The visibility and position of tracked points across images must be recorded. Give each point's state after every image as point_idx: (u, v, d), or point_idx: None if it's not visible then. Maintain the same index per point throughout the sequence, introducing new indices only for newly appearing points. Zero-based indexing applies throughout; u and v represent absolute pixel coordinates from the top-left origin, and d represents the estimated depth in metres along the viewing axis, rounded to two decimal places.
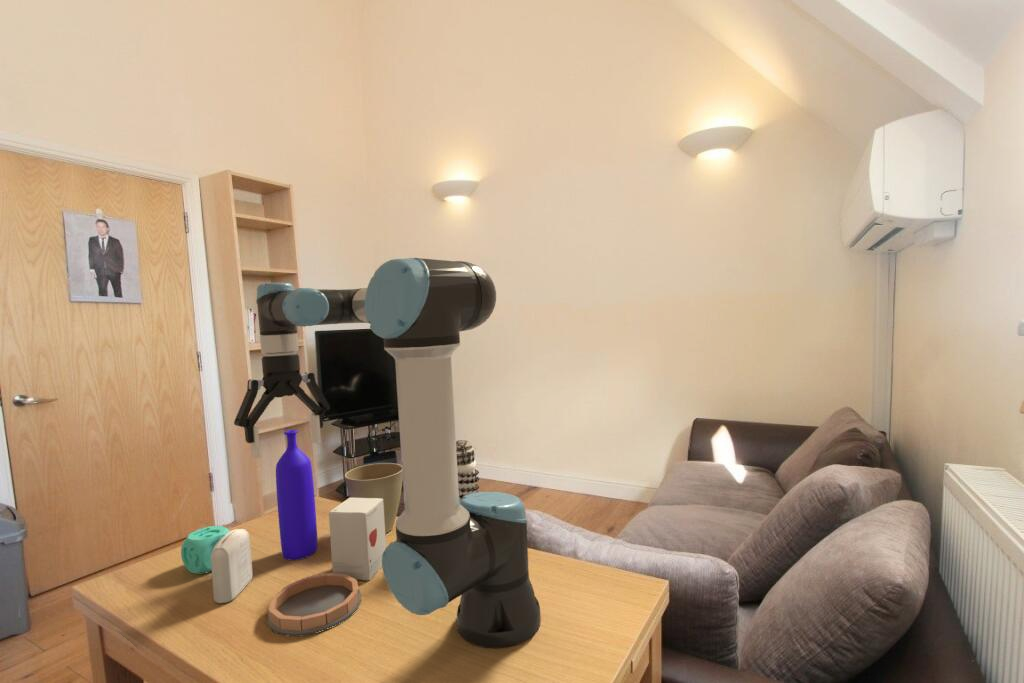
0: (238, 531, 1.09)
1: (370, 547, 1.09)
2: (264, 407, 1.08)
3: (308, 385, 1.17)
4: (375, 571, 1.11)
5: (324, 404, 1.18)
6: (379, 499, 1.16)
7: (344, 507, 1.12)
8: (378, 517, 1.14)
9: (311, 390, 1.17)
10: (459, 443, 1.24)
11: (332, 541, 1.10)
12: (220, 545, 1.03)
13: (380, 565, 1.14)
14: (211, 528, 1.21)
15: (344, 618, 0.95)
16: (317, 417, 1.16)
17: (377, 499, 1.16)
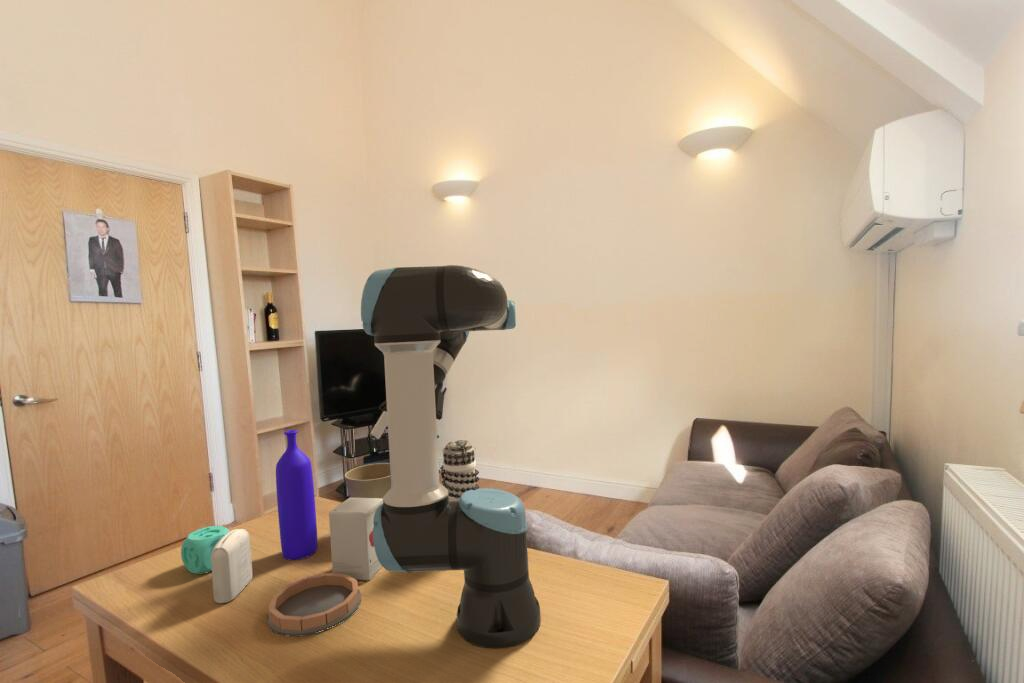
0: (238, 531, 1.09)
1: (370, 547, 1.09)
2: None
3: None
4: (375, 571, 1.11)
5: None
6: (379, 499, 1.16)
7: (344, 507, 1.12)
8: None
9: None
10: (459, 443, 1.24)
11: (332, 541, 1.10)
12: (220, 545, 1.03)
13: (380, 565, 1.14)
14: (211, 528, 1.21)
15: (344, 618, 0.95)
16: None
17: (377, 499, 1.16)
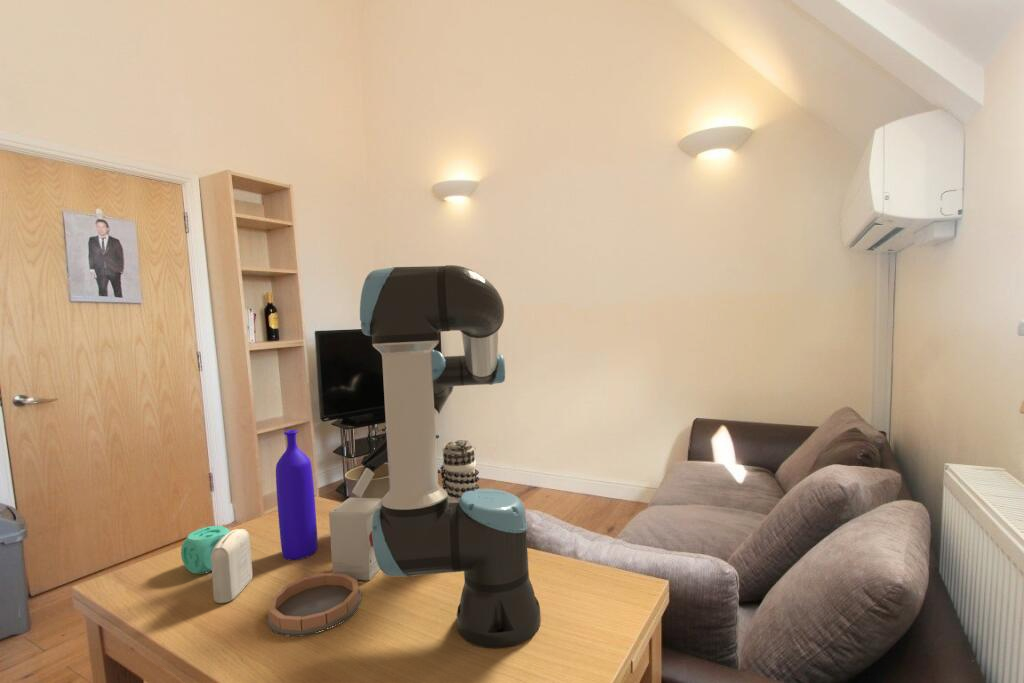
0: (238, 531, 1.09)
1: (370, 547, 1.09)
2: (380, 455, 1.26)
3: None
4: (375, 571, 1.11)
5: None
6: (379, 499, 1.16)
7: (344, 507, 1.12)
8: None
9: None
10: (459, 443, 1.24)
11: (332, 541, 1.10)
12: (220, 545, 1.03)
13: None
14: (211, 528, 1.21)
15: (344, 618, 0.95)
16: None
17: (377, 499, 1.16)
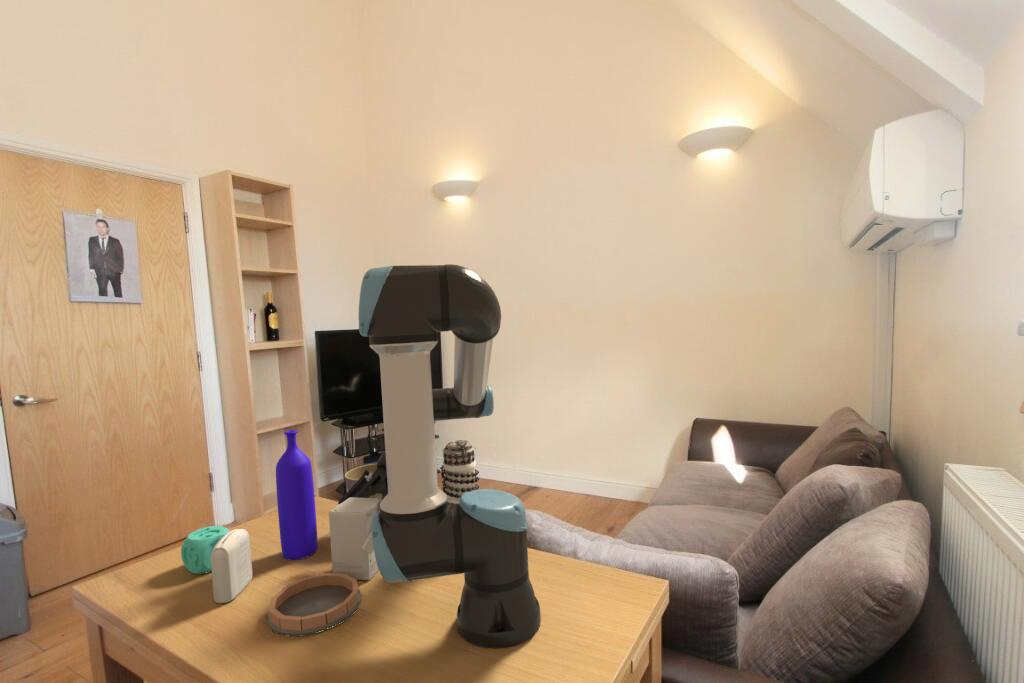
0: (238, 531, 1.09)
1: None
2: (358, 494, 1.19)
3: None
4: (375, 571, 1.11)
5: None
6: (379, 499, 1.16)
7: (344, 507, 1.12)
8: None
9: None
10: (459, 443, 1.24)
11: (332, 541, 1.10)
12: (220, 545, 1.03)
13: None
14: (211, 528, 1.21)
15: (344, 618, 0.95)
16: None
17: (377, 499, 1.16)
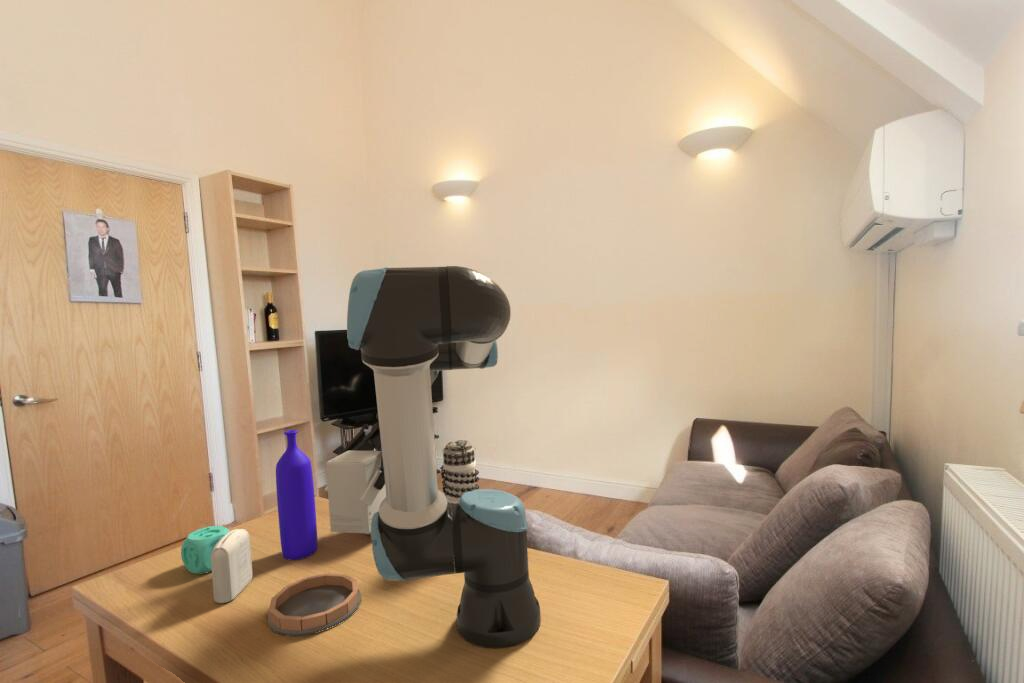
0: (238, 531, 1.09)
1: None
2: (357, 447, 1.13)
3: None
4: None
5: None
6: (379, 451, 1.11)
7: (342, 458, 1.06)
8: (378, 469, 1.08)
9: None
10: (459, 443, 1.24)
11: (330, 493, 1.05)
12: (220, 545, 1.03)
13: None
14: (211, 528, 1.21)
15: (344, 618, 0.95)
16: (376, 472, 1.05)
17: (377, 451, 1.10)
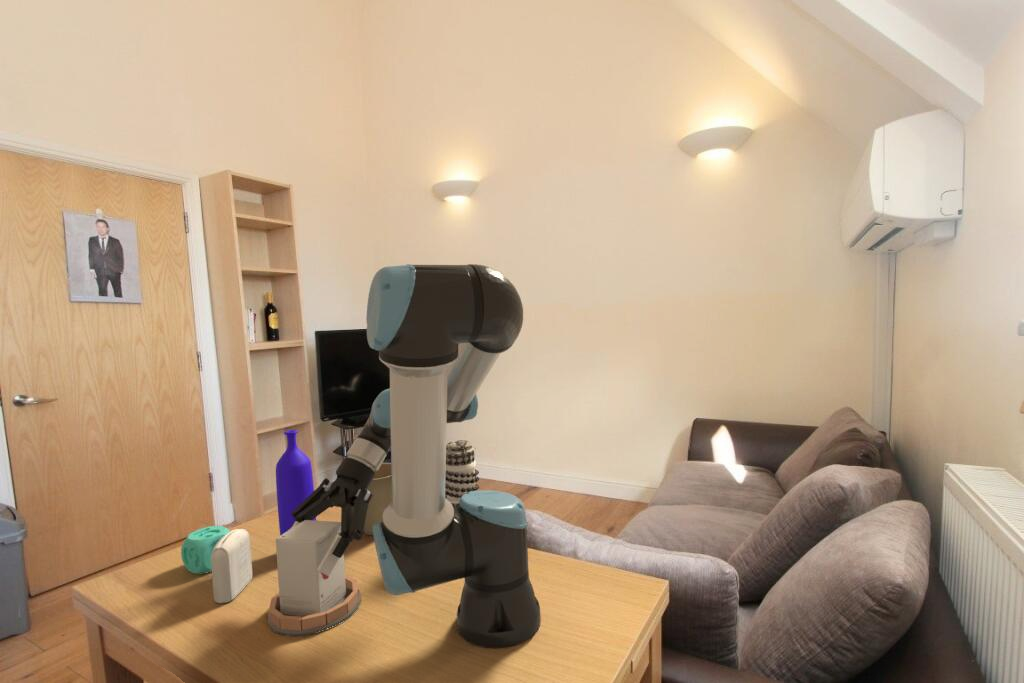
0: (238, 531, 1.09)
1: (321, 580, 0.95)
2: (314, 505, 1.05)
3: None
4: (329, 607, 0.97)
5: (351, 527, 0.96)
6: (337, 523, 1.01)
7: (294, 533, 0.97)
8: None
9: None
10: (459, 443, 1.24)
11: (279, 572, 0.96)
12: (220, 545, 1.03)
13: (336, 599, 0.99)
14: (211, 528, 1.21)
15: (344, 618, 0.95)
16: (336, 538, 0.95)
17: (334, 523, 1.01)
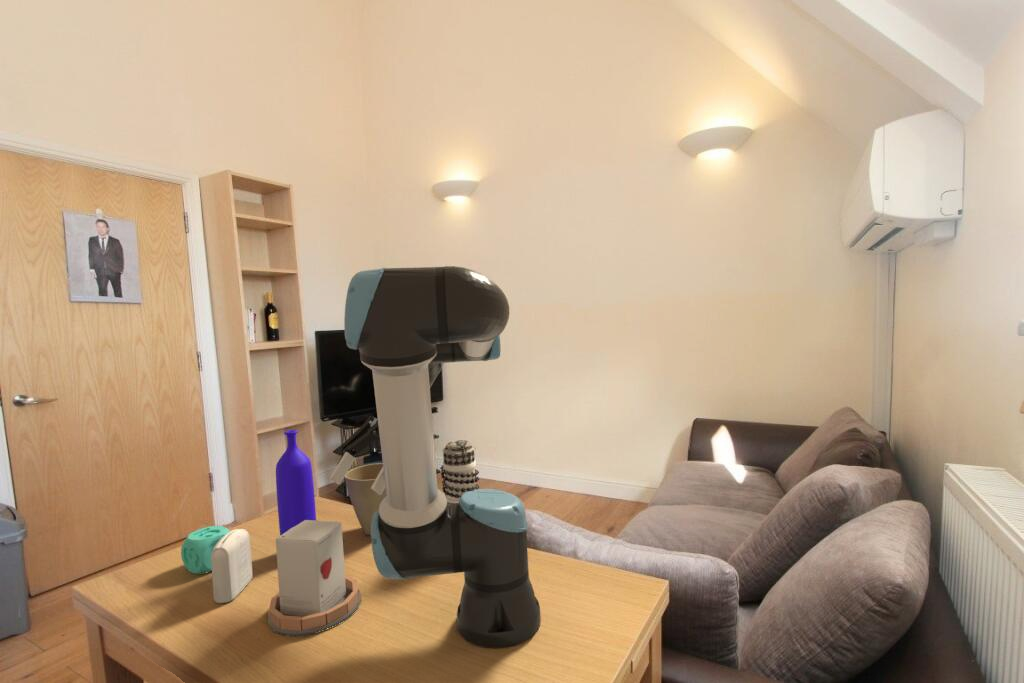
0: (238, 531, 1.09)
1: (321, 580, 0.95)
2: (362, 438, 1.14)
3: None
4: (329, 607, 0.97)
5: None
6: (337, 523, 1.01)
7: (294, 533, 0.97)
8: (334, 544, 0.99)
9: None
10: (459, 443, 1.24)
11: (279, 572, 0.96)
12: (220, 545, 1.03)
13: (336, 599, 0.99)
14: (211, 528, 1.21)
15: (344, 618, 0.95)
16: None
17: (334, 523, 1.01)
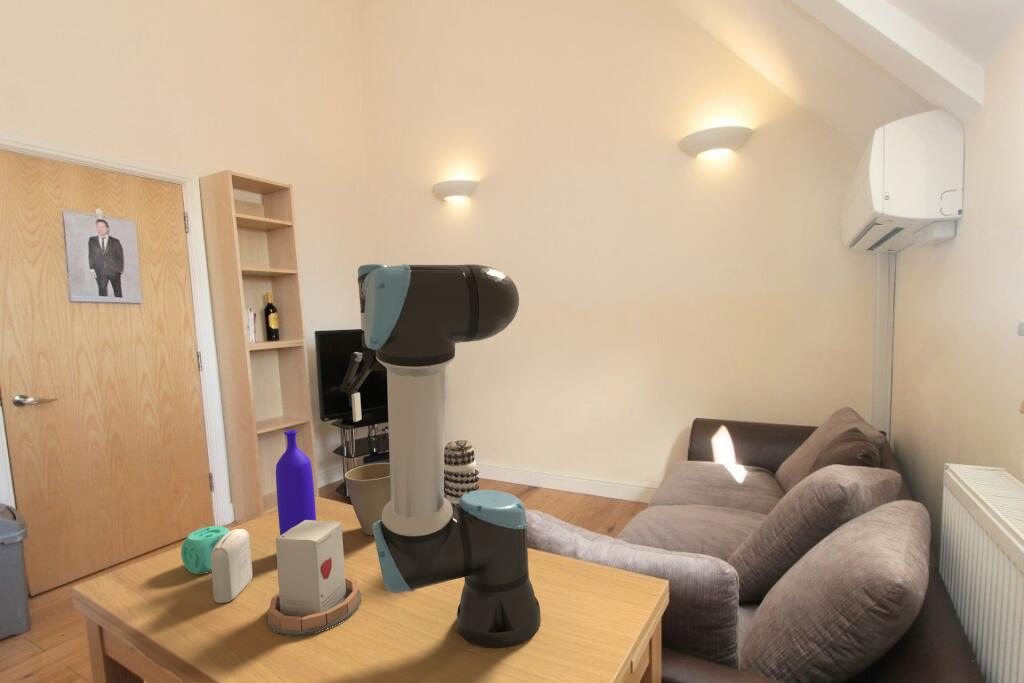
0: (238, 531, 1.09)
1: (321, 580, 0.95)
2: (360, 378, 1.20)
3: None
4: (329, 607, 0.97)
5: None
6: (337, 523, 1.01)
7: (294, 533, 0.97)
8: (334, 544, 0.99)
9: None
10: (459, 443, 1.24)
11: (279, 572, 0.96)
12: (220, 545, 1.03)
13: (336, 599, 0.99)
14: (211, 528, 1.21)
15: (344, 618, 0.95)
16: None
17: (334, 523, 1.01)
